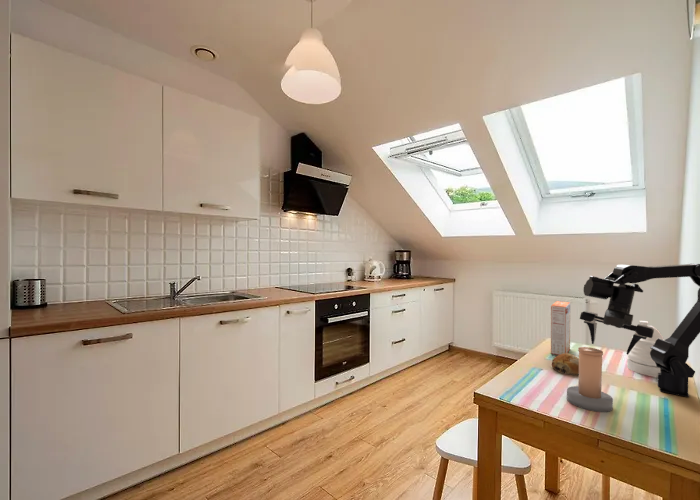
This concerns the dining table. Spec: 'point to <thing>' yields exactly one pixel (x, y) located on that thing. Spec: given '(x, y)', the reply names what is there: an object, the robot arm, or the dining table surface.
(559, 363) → the bread roll
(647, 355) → the honey pot
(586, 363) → the tan cylindrical canister
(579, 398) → the round gray base plate
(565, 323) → the cracker box
